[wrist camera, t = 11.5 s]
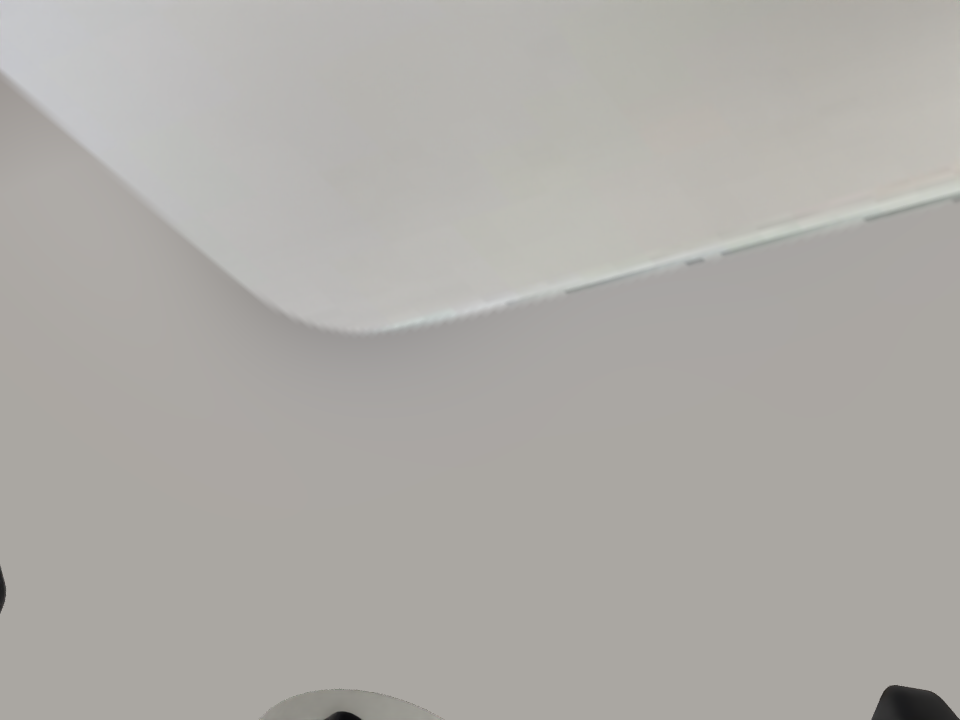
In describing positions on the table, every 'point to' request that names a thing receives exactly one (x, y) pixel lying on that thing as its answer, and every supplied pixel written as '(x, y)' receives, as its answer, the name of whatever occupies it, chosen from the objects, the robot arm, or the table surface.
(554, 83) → the table surface
